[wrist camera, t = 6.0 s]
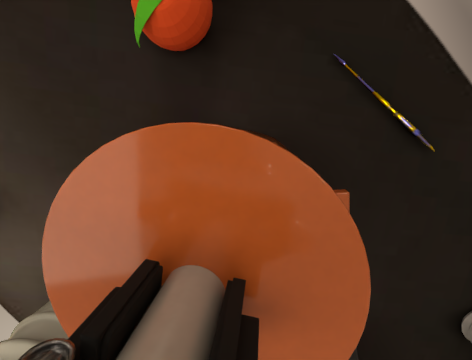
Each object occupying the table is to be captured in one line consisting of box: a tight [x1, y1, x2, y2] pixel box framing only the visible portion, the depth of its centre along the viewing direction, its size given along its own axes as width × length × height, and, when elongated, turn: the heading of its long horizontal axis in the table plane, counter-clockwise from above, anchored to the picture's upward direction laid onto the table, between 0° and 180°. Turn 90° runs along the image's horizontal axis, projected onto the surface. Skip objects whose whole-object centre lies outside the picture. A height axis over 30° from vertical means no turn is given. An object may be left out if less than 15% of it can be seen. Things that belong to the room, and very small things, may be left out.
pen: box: [333, 53, 435, 151], centre depth 24 cm, size 14×1×1 cm, turn 48°
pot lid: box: [42, 122, 371, 360], centre depth 9 cm, size 15×15×6 cm
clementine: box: [131, 0, 212, 51], centre depth 22 cm, size 8×7×7 cm
